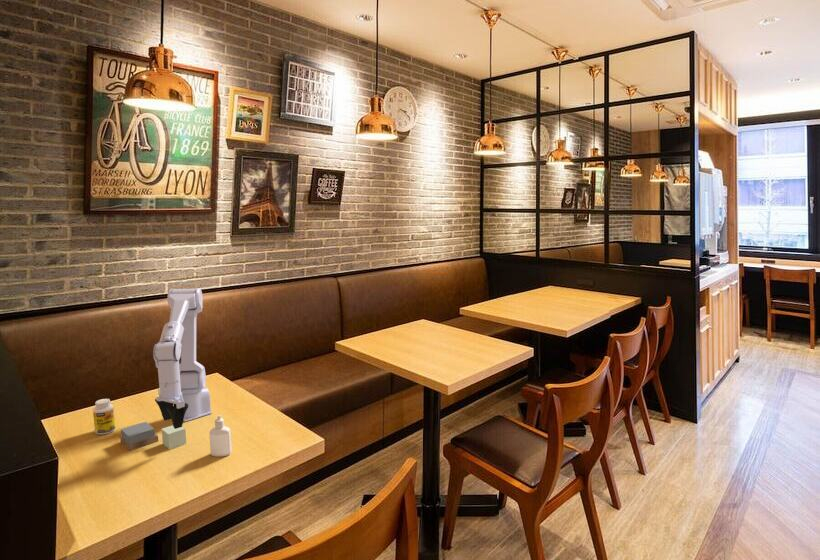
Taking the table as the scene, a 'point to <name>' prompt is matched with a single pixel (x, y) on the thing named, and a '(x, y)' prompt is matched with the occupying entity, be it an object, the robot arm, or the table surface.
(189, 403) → the robot arm
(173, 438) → the sage cube
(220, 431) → the eye dropper bottle
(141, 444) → the walnut base slab
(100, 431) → the supplement bottle
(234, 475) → the table surface
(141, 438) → the slate gray middle block
